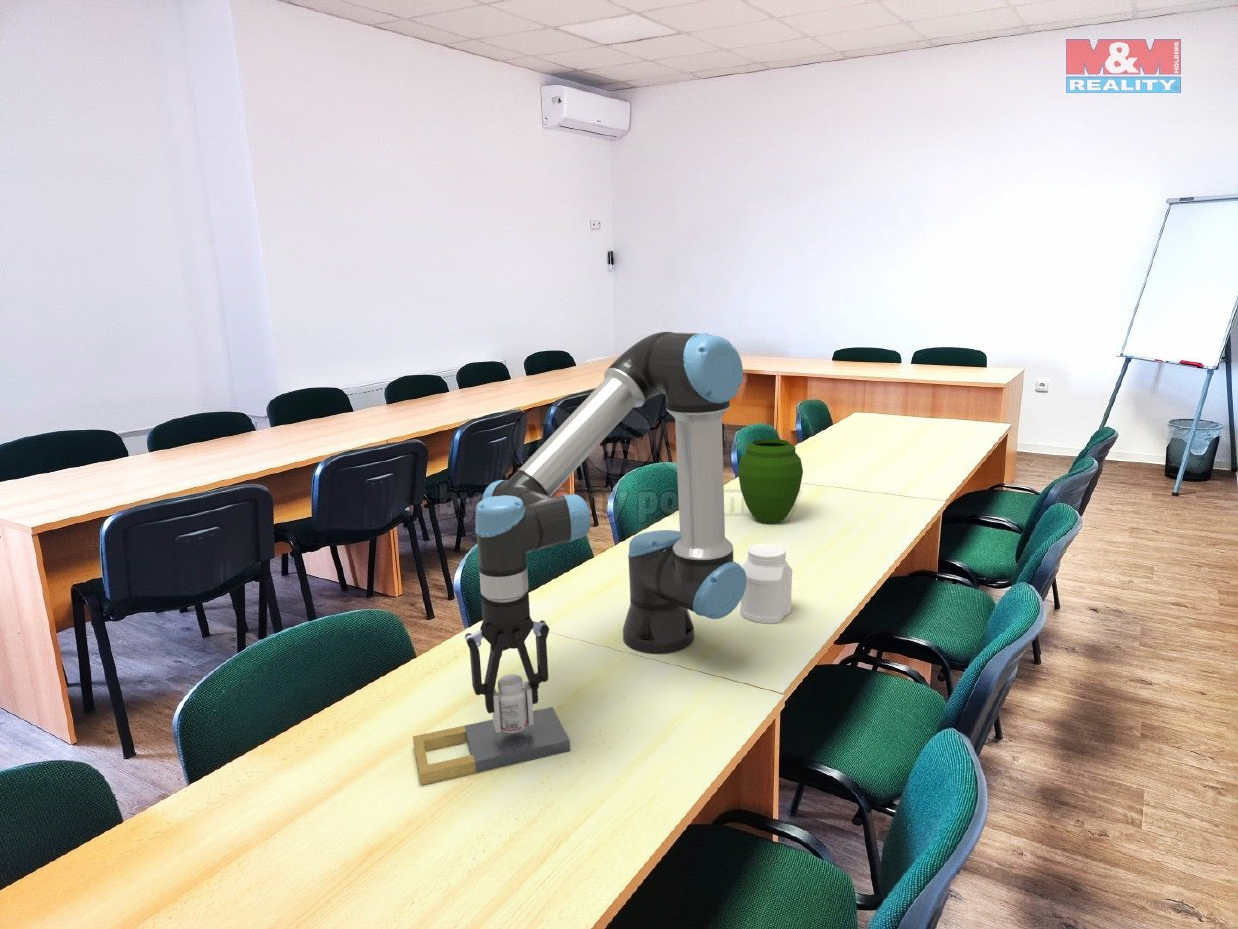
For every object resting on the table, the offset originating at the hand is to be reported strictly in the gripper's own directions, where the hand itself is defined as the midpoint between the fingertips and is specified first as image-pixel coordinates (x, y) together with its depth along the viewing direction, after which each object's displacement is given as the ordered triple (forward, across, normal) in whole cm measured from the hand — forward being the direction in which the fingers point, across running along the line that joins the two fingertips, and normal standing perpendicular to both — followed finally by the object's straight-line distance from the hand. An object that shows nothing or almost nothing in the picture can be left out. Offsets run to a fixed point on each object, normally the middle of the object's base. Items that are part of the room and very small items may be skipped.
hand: (513, 724), depth 132 cm
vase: (+3, -99, -88) cm, 133 cm away
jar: (+4, -64, -29) cm, 70 cm away
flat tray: (+4, +4, 0) cm, 5 cm away
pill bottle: (+1, 0, 0) cm, 1 cm away
